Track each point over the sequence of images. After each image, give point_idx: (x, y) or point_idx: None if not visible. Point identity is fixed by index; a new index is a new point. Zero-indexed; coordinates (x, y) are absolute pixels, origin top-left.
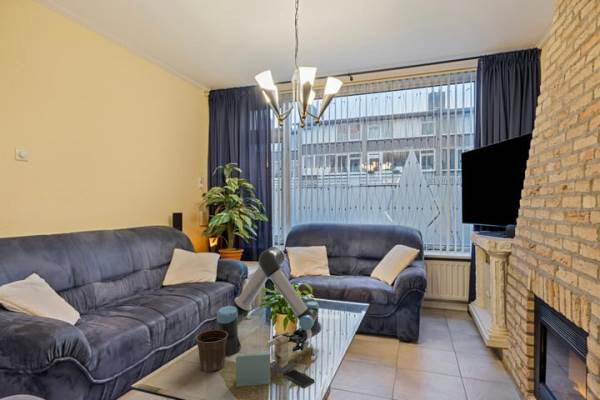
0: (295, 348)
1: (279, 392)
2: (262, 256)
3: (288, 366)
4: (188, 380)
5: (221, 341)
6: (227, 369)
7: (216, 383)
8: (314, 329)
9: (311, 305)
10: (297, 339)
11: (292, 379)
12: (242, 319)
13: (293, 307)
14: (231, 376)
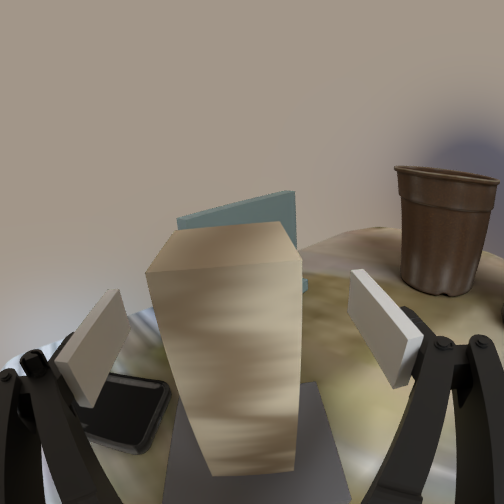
0: (63, 340)
1: (131, 320)
2: None
3: (186, 452)
4: (384, 246)
5: (404, 175)
6: (398, 295)
7: (332, 265)
8: None
9: None
10: (77, 500)
11: (108, 377)
12: None
13: None
14: (344, 290)
